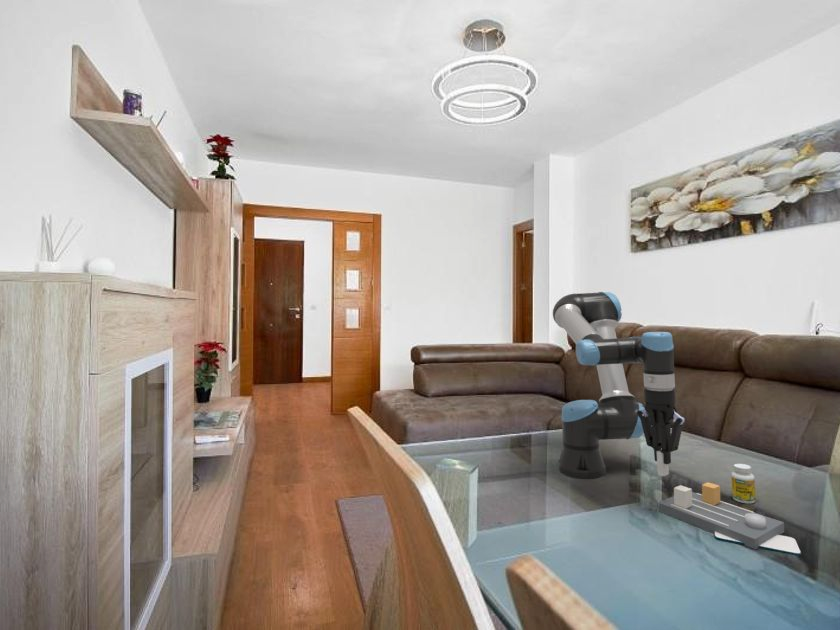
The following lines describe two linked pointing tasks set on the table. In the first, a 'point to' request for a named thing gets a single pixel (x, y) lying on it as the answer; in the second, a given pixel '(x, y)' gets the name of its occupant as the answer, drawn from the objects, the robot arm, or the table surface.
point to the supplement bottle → (743, 484)
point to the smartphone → (769, 543)
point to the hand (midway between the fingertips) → (663, 474)
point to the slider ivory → (683, 497)
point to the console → (725, 520)
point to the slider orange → (711, 493)
